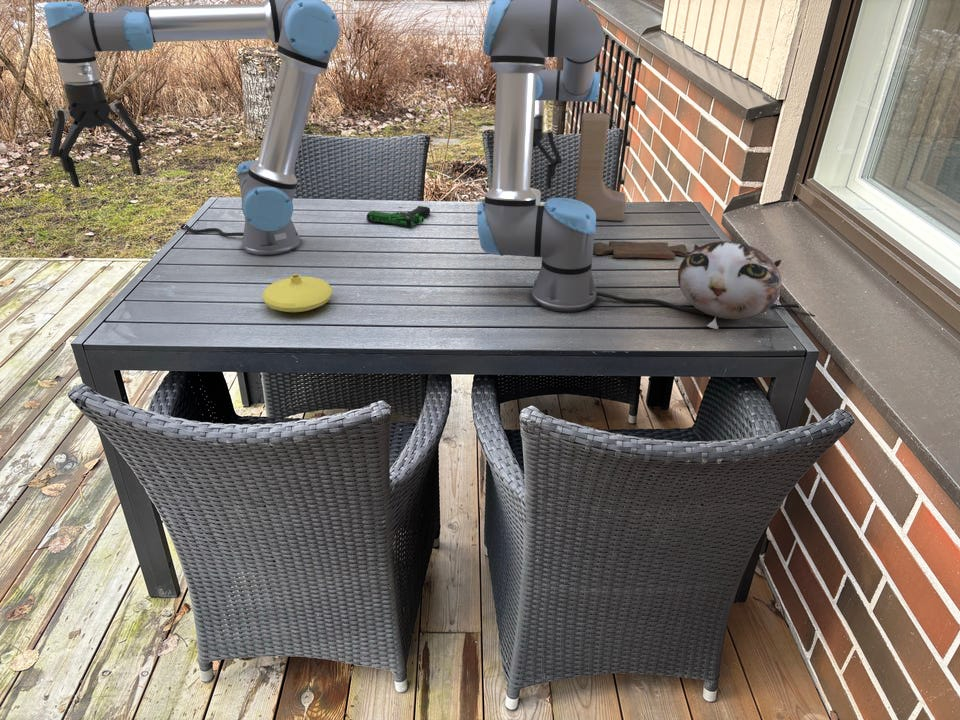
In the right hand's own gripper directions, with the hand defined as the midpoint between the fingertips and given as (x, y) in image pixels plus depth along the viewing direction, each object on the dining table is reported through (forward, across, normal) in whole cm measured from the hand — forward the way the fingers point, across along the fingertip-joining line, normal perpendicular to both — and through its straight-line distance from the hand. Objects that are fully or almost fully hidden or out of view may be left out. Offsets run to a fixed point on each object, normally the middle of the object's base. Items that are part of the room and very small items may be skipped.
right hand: (526, 187), depth 213 cm
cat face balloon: (+9, -34, +67) cm, 76 cm away
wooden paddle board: (+10, -27, +29) cm, 41 cm away
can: (+10, 0, 0) cm, 10 cm away
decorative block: (+10, -23, 0) cm, 25 cm away
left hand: (-16, +104, +35) cm, 111 cm away
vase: (+9, +62, +53) cm, 82 cm away
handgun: (+10, +37, -3) cm, 39 cm away
